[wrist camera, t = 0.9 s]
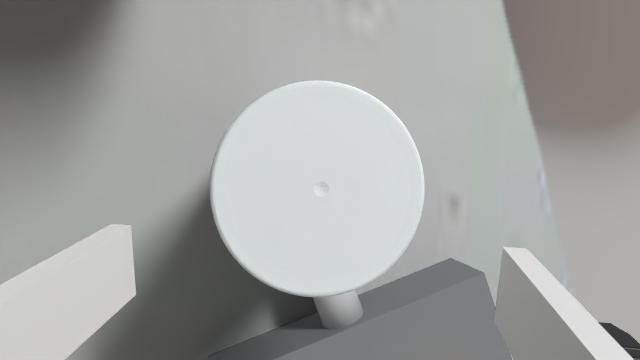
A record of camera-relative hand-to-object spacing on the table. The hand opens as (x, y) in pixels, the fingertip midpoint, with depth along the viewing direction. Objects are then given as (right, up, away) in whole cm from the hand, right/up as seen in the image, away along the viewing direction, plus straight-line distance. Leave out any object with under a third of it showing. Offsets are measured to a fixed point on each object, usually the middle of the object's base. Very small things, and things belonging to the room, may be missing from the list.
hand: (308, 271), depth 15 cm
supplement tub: (-2, +3, +18) cm, 18 cm away
